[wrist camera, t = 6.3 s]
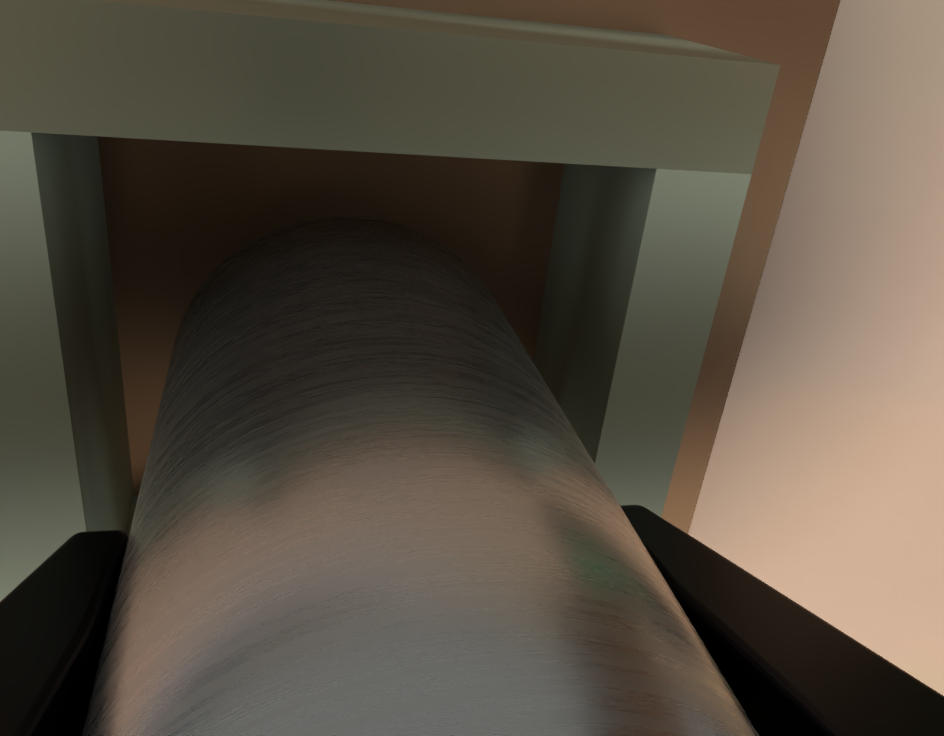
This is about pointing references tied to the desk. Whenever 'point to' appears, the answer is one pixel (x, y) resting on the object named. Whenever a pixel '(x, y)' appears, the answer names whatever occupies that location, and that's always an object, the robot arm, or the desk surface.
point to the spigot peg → (382, 523)
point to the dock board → (388, 204)
